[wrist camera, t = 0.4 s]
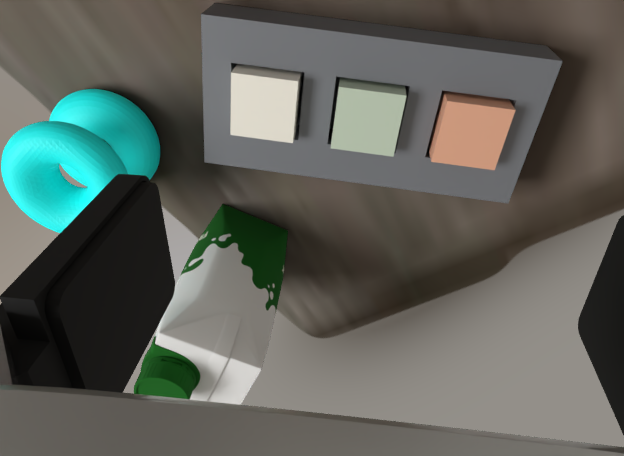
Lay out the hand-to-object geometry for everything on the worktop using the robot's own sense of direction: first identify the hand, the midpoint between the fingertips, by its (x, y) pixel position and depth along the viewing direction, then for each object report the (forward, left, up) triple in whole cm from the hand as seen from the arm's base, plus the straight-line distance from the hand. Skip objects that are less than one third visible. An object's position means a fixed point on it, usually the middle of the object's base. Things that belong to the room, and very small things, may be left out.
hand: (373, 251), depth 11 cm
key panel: (+1, -9, -33) cm, 34 cm away
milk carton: (-9, -26, -34) cm, 43 cm away
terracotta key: (+9, -9, -31) cm, 33 cm away
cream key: (-7, -9, -31) cm, 33 cm away
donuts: (-22, -16, -34) cm, 43 cm away
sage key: (+1, -9, -31) cm, 32 cm away
